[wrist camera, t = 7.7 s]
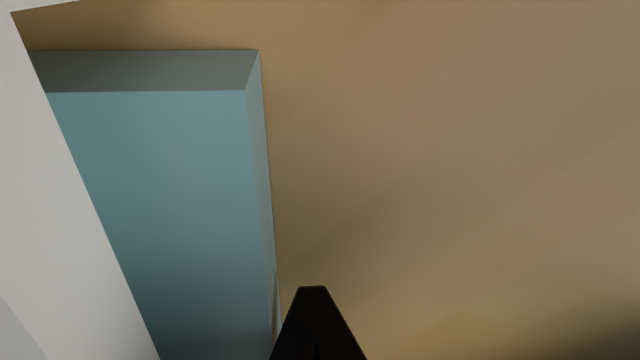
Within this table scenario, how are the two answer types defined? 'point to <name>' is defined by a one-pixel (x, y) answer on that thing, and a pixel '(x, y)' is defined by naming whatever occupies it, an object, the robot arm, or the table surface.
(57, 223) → the white box
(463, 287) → the table surface
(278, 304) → the light blue slab
